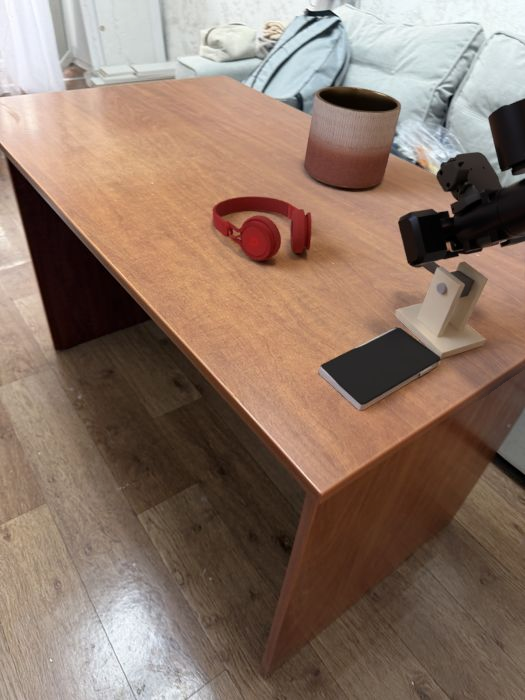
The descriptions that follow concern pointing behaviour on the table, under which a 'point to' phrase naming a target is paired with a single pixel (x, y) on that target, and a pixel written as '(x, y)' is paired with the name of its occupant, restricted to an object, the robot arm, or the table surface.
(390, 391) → the smartphone
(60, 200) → the table surface
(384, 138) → the planter
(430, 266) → the switch lever
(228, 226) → the headphones
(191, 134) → the table surface
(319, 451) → the table surface
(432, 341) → the switch unit
